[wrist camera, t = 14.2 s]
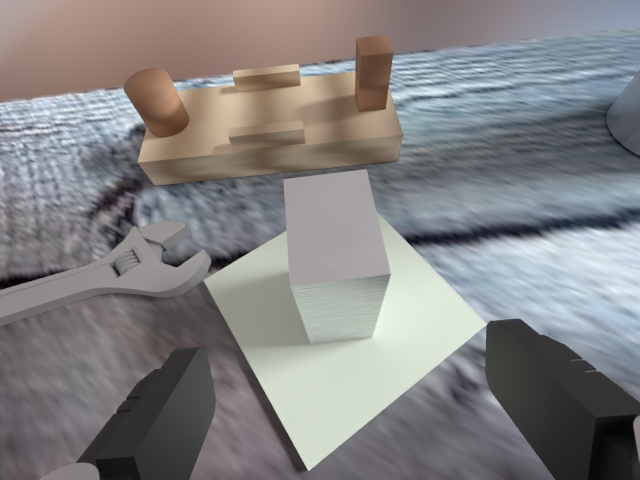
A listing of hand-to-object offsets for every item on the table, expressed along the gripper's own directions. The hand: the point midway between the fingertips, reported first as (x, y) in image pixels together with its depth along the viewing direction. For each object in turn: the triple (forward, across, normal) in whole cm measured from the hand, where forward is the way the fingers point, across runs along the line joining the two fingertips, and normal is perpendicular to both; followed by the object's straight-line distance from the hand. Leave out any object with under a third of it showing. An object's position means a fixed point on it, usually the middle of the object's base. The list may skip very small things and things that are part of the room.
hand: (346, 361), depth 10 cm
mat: (+13, 0, +5) cm, 14 cm away
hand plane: (+26, +4, -8) cm, 27 cm away
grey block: (+13, 0, +4) cm, 14 cm away
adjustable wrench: (+16, +22, +3) cm, 27 cm away
